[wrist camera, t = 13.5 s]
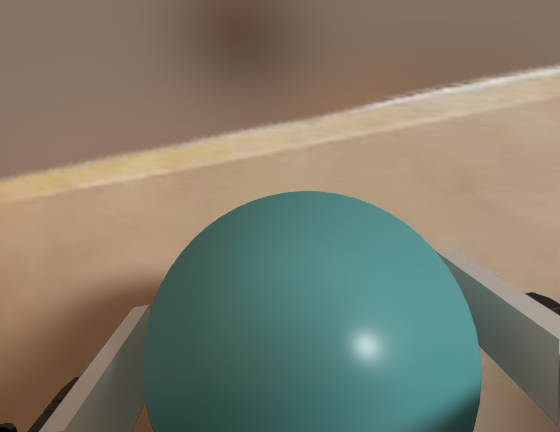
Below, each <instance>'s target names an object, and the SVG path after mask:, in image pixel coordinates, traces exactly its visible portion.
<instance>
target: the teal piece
mask: <svg viewBox="0 0 560 432" xmlns="http://www.w3.org/2000/svg"><path fill="white" fill-rule="evenodd" d="M142 374H143V386H144V396H145V400H146V405H147V410H148V415H149V419H150V422H151V424H152V427H153V430H154V432H473V430H474V426H475V421H476V417H477V412H478V408H479V403H480V391H481V378H482V377H481V359H480V349H479V344H478V338H477V333H476V328H475V325H474V322H473V319H472V315H471V312H470V309H469V306H468V304H467V302H466V300H465V297H464V295H463V293H462V291H461V289H460V286H459V285H458V283H457V281H456V280H455V278H454V276H453V275H452V273H451V272H450V270H449V268H448V267H447V265H446V264H445V263H444V262H443V260H442V259H441V258H440V256H439V255H438V254H437V253H436V251H435V250H434V249H433V248H432V247H431V246H430V245H429V244H428V243H427V242H426V241H425V240H424V239H423V238H422V237H421V236H420V235H419V234H418V233H416V232H415V231H414V230H413V229H411V228H410V227H409V226H408V225H407V224H405V223H404V222H402V221H401V220H399V219H398V218H396V217H394V216H393V215H391V214H390V213H388V212H386V211H384V210H382V209H380V208H378V207H376V206H374V205H372V204H369V203H366V202H364V201H361V200H358V199H355V198H352V197H348V196H344V195H339V194H334V193H326V192H313V191H300V192H288V193H281V194H276V195H271V196H267V197H264V198H261V199H257V200H254V201H251V202H249V203H247V204H244V205H242V206H240V207H238V208H235V209H234V210H232V211H230V212H228V213H227V214H225V215H223V216H221V217H220V218H219V219H217V220H216V221H214V222H213V223H212V224H210V225H209V226H208V227H206V228H205V229H204V230H203V231H202V232H201V233H200V234H199V235H197V236H196V237H195V238H194V239H193V240H192V241H191V242H190V243H189V245H188V246H187V247H186V248H185V249H184V250H183V251H182V253H181V254H180V255H179V256H178V258H177V259H176V261H175V262H174V264H173V265H172V267H171V268H170V269H169V271H168V273H167V275H166V277H165V278H164V280H163V282H162V284H161V286H160V288H159V290H158V293H157V295H156V298H155V300H154V303H153V305H152V308H151V312H150V315H149V319H148V323H147V326H146V332H145V339H144V345H143V363H142Z"/></svg>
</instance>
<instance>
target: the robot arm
mask: <svg viewBox="0 0 560 432" xmlns="http://www.w3.org/2000/svg"><path fill="white" fill-rule="evenodd" d="M436 253H437V254H438V255H439V256H440V258H441V259H442V260H443V262H444V263H445V264H446V265H447V267H448V268H449V270H450V272H451V273H452V275H453V276H454V278H455V280H456V281H457V283H458V285H459V286H460V289H461V291H462V293H463V295H464V297H465V300H466V302H467V304H468V306H469V309H470V312H471V315H472V319H473V322H474V325H475V328H476V333H477V338H478V344H479V346H480V347H481V348H482V349H483V350H484V351H485V352H486V353H487V354H488V355H489V356H490V357H491V358H492V359H493V360H494V361H495V362H496V363H497V364H498V365H499V366H500V367H501V368H502V369H503V370H504V371H505V372H506V373H507V374H508V375H509V376H510V377H511V378H512V379H513V380H514V381H515V382H516V383H517V384H518V385H519V386H520V387H521V388H522V389H523V390H524V392H525V393H526V394H527V395H528V396H529V397H530V398H531V399H532V400H533V401H534V402H535V403H536V404H537V405H538V406H539V407H540V408H541V409H542V410H543V411H544V412H545V413H546V414H547V415H548V416H549V417H550V418H551V419H552V420H553V421H554V422H555V423H556V424H560V304H559V303H557V302H555V301H554V300H552V299H550V298H548V297H545V296H542V295H539V294H536V293H533V292H531V293H523V292H521V291H520V290H518V289H517V288H515V287H514V286H512V285H510V284H509V283H507V282H506V281H504V280H502V279H501V278H499V277H498V276H496V275H495V274H493V273H491V272H490V271H488V270H487V269H485V268H484V267H482V266H480V265H479V264H477V263H476V262H474V261H472V260H471V259H469V258H468V257H466V256H465V255H463V254H461V253H460V252H458V251H457V250H455V249H454V248H449V249H443V250H438V251H436ZM150 312H151V307H150V304H149V305H144V306H138V307H133V308H132V310H131V311H130V312H129V314H128V315H127V316H126V317H125V319H124V320H123V321H122V323H121V324H120V325H119V327H118V328H117V329H116V331H115V332H114V333H113V335H112V336H111V337H110V339H109V340H108V341H107V343H106V344H105V345H104V346H103V348H102V349H101V350H100V352H99V353H98V354H97V356H96V357H95V358H94V360H93V361H92V362H91V364H90V365H89V366H88V368H87V369H86V370H85V372H84V373H83V374H82V375H81V377H77V378H74V379H73V380H72V381H71V382H70V383H68V384H67V385H66V386H65V387H64V388H62V389H61V390H60V392H59V393H58V394H57V395H56V397H55V398H54V399H53V400H52V403H51V404H49V405H48V407H47V408H46V409H45V410H44V413H43V414H41V416H40V417H39V418H38V419H37V421H36V422H35V423H34V424H33V426H32V427H31V428H30V429H29V431H28V432H132V430H133V428H134V426H135V423H136V421H137V419H138V417H139V414H140V412H141V410H142V408H143V406H144V403H145V401H146V400H145V396H144V386H143V374H142V363H143V345H144V339H145V332H146V326H147V323H148V319H149V315H150ZM0 432H18V431H17V429H16V427H15V426H14V425H13V424H12V423H4V424H0Z"/></svg>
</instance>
